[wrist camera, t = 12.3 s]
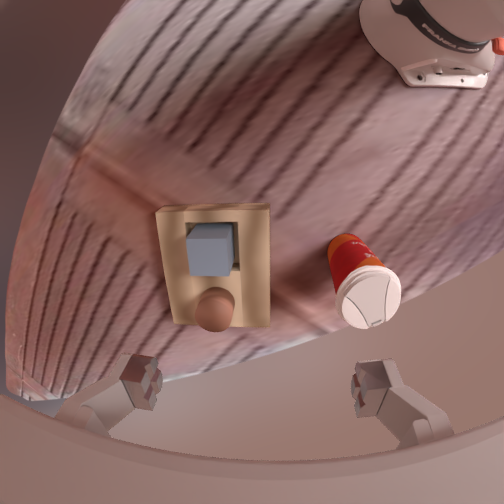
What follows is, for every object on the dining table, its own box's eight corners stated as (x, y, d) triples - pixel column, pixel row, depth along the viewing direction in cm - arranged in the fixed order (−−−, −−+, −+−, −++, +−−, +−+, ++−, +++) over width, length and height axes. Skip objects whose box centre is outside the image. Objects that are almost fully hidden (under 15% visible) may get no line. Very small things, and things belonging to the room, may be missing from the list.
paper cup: (375, 263, 42) (408, 317, 30) (329, 281, 44) (346, 341, 31) (362, 217, 40) (398, 259, 27) (312, 236, 41) (328, 286, 29)
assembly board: (269, 203, 40) (268, 219, 33) (270, 314, 47) (269, 344, 40) (164, 205, 41) (143, 221, 34) (179, 311, 48) (166, 339, 41)
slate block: (233, 222, 40) (226, 238, 35) (235, 256, 42) (229, 276, 37) (197, 223, 41) (185, 238, 35) (200, 256, 43) (190, 275, 37)
